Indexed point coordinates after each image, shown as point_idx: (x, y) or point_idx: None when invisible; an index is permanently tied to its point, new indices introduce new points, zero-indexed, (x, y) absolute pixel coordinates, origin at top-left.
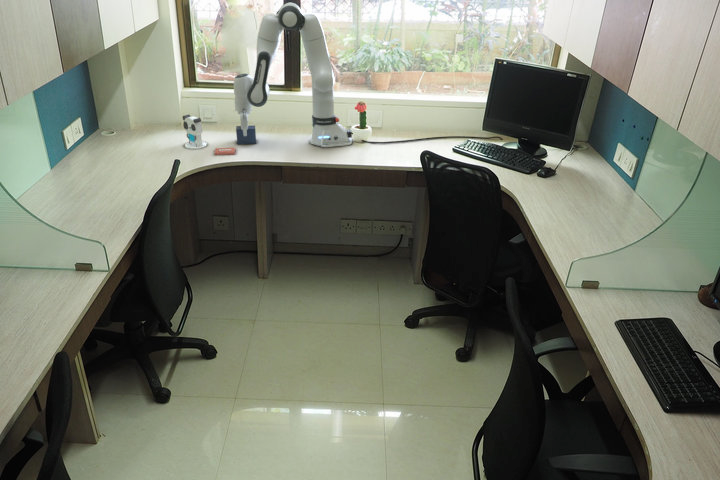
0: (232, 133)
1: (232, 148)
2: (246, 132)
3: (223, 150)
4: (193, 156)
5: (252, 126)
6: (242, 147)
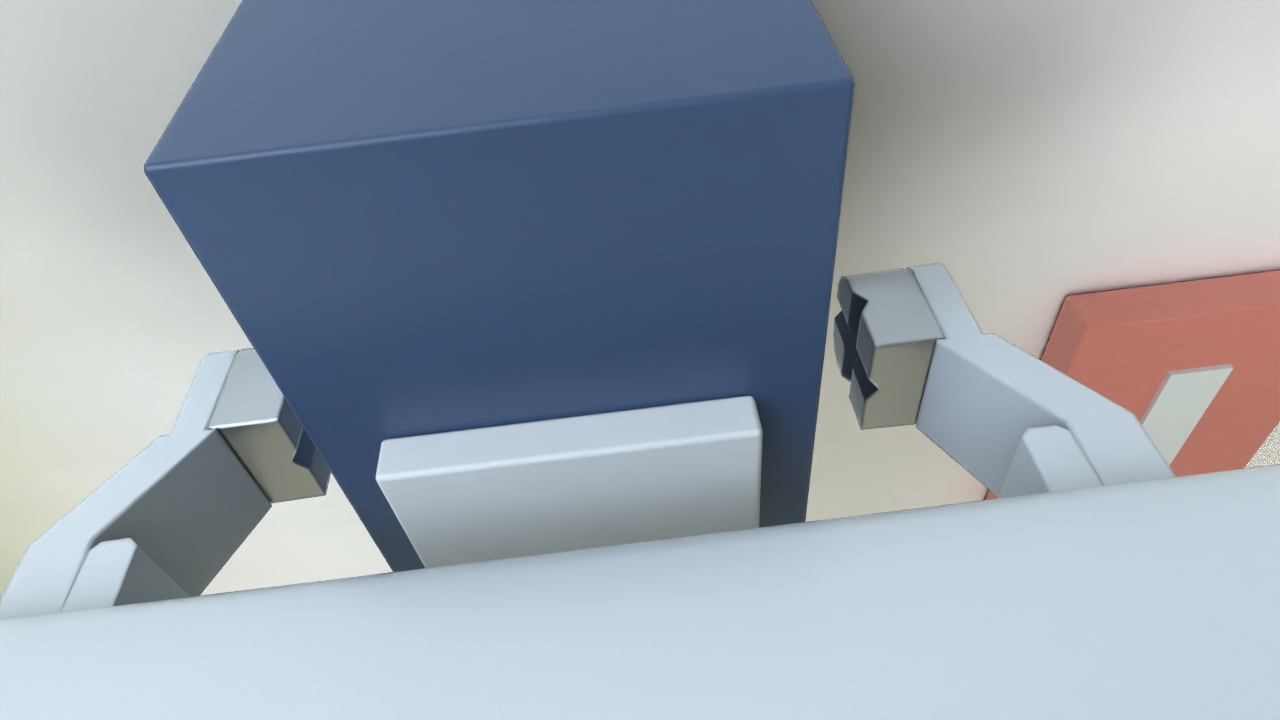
0: (24, 471)
1: (1128, 356)
2: (1005, 347)
3: (1174, 453)
4: None
5: (400, 271)
6: (962, 181)
